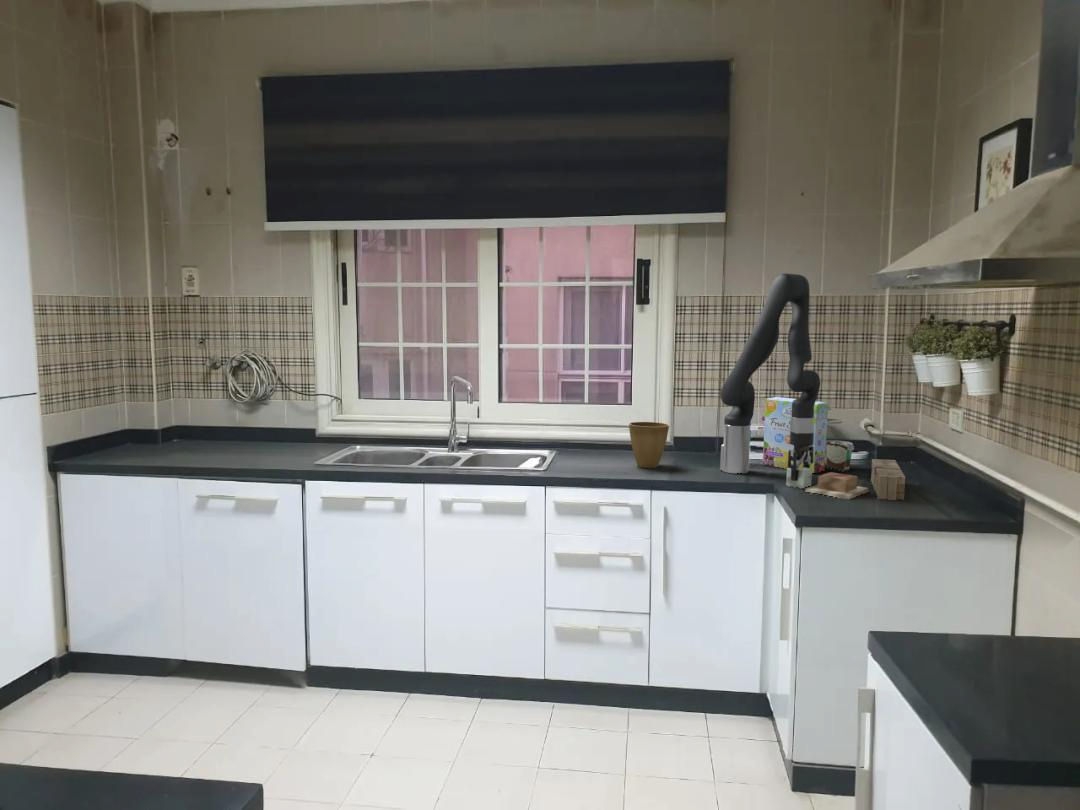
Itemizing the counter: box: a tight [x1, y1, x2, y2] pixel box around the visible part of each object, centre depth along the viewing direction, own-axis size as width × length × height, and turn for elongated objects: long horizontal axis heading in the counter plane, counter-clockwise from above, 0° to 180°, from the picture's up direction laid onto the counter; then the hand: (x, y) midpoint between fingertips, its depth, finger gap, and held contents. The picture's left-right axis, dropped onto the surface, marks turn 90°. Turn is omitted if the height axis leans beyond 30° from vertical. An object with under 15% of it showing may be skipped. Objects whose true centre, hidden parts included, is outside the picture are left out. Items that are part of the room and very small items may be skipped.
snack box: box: [762, 396, 829, 474], centre depth 290 cm, size 22×9×26 cm, turn 42°
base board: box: [804, 471, 869, 500], centre depth 253 cm, size 14×16×5 cm
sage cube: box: [785, 467, 813, 489], centre depth 262 cm, size 6×6×6 cm
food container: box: [825, 439, 855, 472], centre depth 292 cm, size 12×6×10 cm, turn 22°
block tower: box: [870, 458, 906, 501], centre depth 257 cm, size 8×8×29 cm
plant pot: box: [628, 421, 670, 469], centre depth 292 cm, size 15×15×16 cm
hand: (800, 478), depth 262 cm, fingers open, 8 cm apart
